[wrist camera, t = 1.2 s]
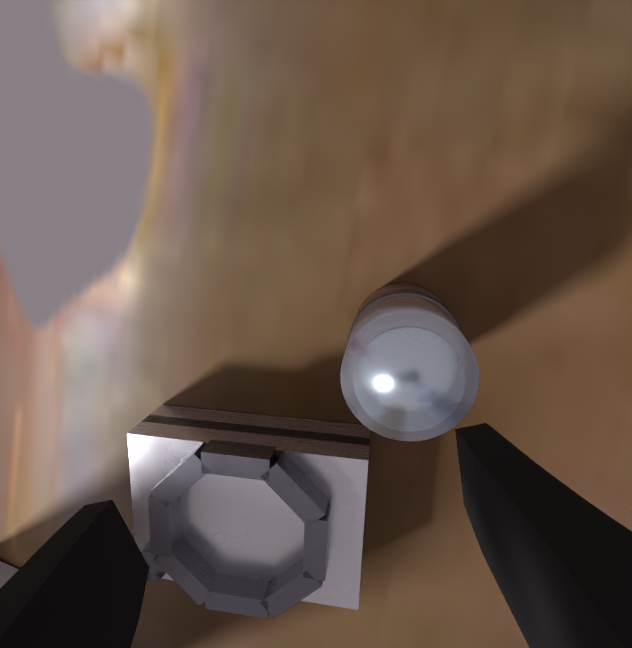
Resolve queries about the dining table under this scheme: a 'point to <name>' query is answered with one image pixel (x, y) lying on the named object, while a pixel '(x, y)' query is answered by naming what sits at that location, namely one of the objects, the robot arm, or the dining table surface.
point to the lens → (408, 365)
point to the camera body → (250, 507)
